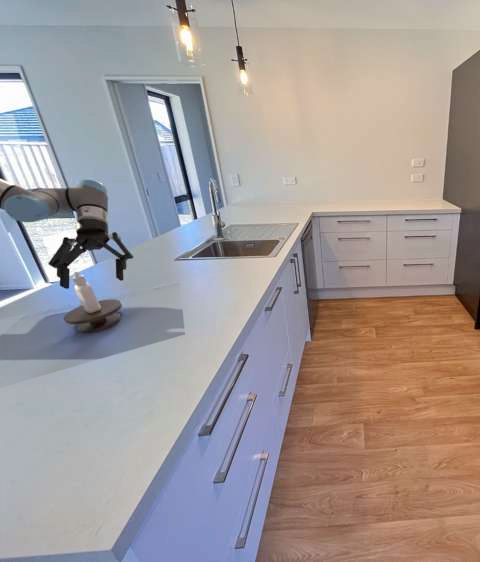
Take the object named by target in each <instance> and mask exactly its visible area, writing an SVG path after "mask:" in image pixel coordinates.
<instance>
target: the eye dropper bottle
mask: <svg viewBox="0 0 480 562" xmlns="http://www.w3.org/2000/svg"><path fill="white" fill-rule="evenodd" d="M71 279H72V281H73V284H74V291H75V293H76V296H77V297H78V299H79V300H80V303H81V306H82V305H83V307H84V309H85V311H86V312H88V313H94V312H97V311H99V310H101V306H100V304H99V302H98V301H99V299H98V298H97V295H96V293H95V291H94V290H93V289H94V288H93V287H92V285H91V284H90V283H89V282H87V280H86V278H85V276H84V275H83V274H80V273H79V272H78V271H74V272H73V277H71Z"/></svg>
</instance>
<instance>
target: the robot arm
mask: <svg viewBox="0 0 480 562" xmlns="http://www.w3.org/2000/svg"><path fill="white" fill-rule="evenodd" d="M108 201H109V196H108V189H107V187H106V186H105V185H104V184H102V182H100V181H97V180H94V179H82V180H79V181H78V182H77V184H76V187H36V188H35V187H34V188H27V189H25V188H23V187H22V186H19V185H16V184H14V183H12V182H10V181H6V180H5V179H2V178H0V209H1V210H4V212H5V213H6V214H7V215H8V216H9V217H10V218H12V219H13V220H15V221H18V222H22V223H34V222H40V221H43V220H45V219H48V217H51V216H54V215H56V214H60V213H71V212H76V227H75V228H76V231H75V232H76V236H75V237H73V238H69V237H67V236H64V237H63V238H62V243H61V244H60V246H59V247H58V249H57V250H56V251H55V253H54V254H53V256H52V257H51V258H50V260H49V262H48V263H47V264H48V265H49V266H50V267H52V268H54V269H56V277H57V278H59V286H60V287H61V288H64V289H65V290H67V289H68V290H69V289H70V274H71V273H70V268H69V266H70V265H71V264H72V263H74V261H75V260H77V259H78V258H79V257H80V256H81V255H82V254H85V253H86V252H87V251H89V252H90V251H91V252H92V251H94V250H97V251H98V250H101V249H103V248H104V249H105V250H107V251H108V252H110V253H111V254H112V255H114V256H115V257H116V258H115V278H116V279H117V280H119V281H120V282H122V281H124V271H126V270H127V261H128V260H132V259H134V256H133V254H132V253H131V252H130V251H129V249H128V248H127V246H126V245H125V244H124V243H123V242H122V239H121V236H120V235H119V234H118V233H117V232H116V231H113V232H112V233H110V234H109V212H108V211H109V210H108V209H109V202H108ZM110 240H112V241H113V242H115V243H116V245H117V246H118V247H119V249H120V250H121V251H122V253H123V254H121V252H119V251H118V250H116V249H115V248H113V247H112V246H111V245H109V244H108V242H110Z"/></svg>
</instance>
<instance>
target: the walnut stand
mask: <svg viewBox="0 0 480 562" xmlns="http://www.w3.org/2000/svg"><path fill="white" fill-rule="evenodd" d="M98 302H99V304H100V306H101V310H99V311H97V312H94V313H88V312H86V311H85V309H84V307H83V305H82V304H81V305H80V306H78V307H75V308H73V309H71V310H70V311H68V312H67V313H66V314H65V315H64V316H63V320H64V322H65V323H66V324H68V325H76V329H77V331H78V333H80V334H92V333H97V332H98V333H99V332H102V331H104V330H107V329H109V328H112V327H113V326H115V325H116V324H118V323H119V322H120V321H121V320H122V317H121V315H120V313H118V312H119V311H120V310H121V309H122V308H123V304H122V302H121V301H120V300H119V299H112V298H110V299H102V300H98Z"/></svg>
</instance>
